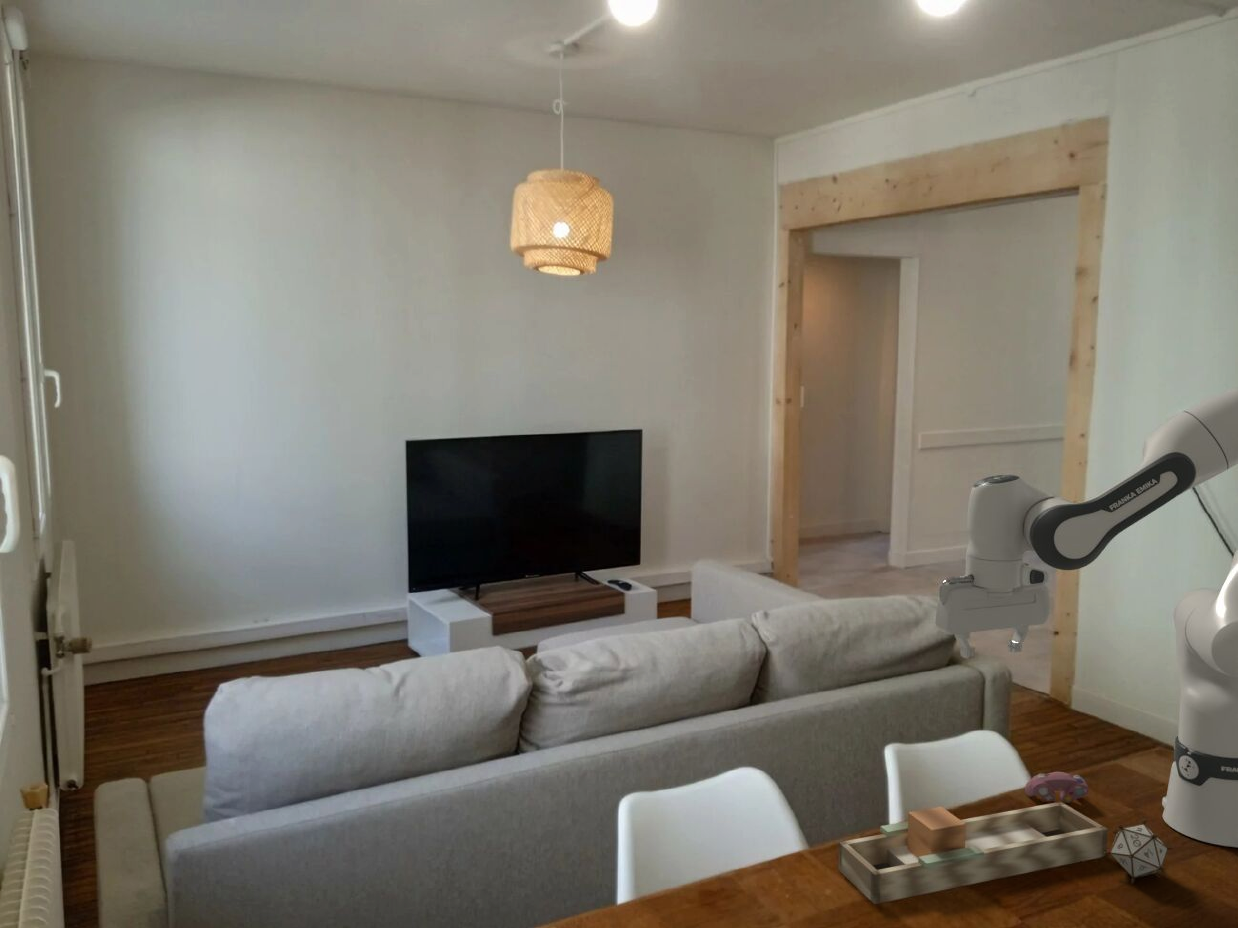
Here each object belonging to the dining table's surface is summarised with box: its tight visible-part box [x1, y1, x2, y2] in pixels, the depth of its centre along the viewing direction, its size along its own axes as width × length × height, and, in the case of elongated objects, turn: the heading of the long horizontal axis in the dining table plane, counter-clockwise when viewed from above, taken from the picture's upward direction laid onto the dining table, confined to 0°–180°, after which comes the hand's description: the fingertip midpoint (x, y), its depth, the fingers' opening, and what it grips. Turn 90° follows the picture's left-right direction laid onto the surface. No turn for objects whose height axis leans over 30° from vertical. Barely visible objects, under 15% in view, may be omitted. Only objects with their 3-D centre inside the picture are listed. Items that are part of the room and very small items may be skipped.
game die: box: [1103, 818, 1175, 884], centre depth 147 cm, size 9×8×10 cm
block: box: [907, 806, 966, 857], centre depth 148 cm, size 6×6×6 cm
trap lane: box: [837, 801, 1109, 905], centre depth 151 cm, size 42×12×5 cm, turn 108°
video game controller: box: [1024, 771, 1090, 804], centre depth 171 cm, size 10×5×7 cm, turn 84°
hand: (991, 654), depth 162 cm, fingers open, 8 cm apart
